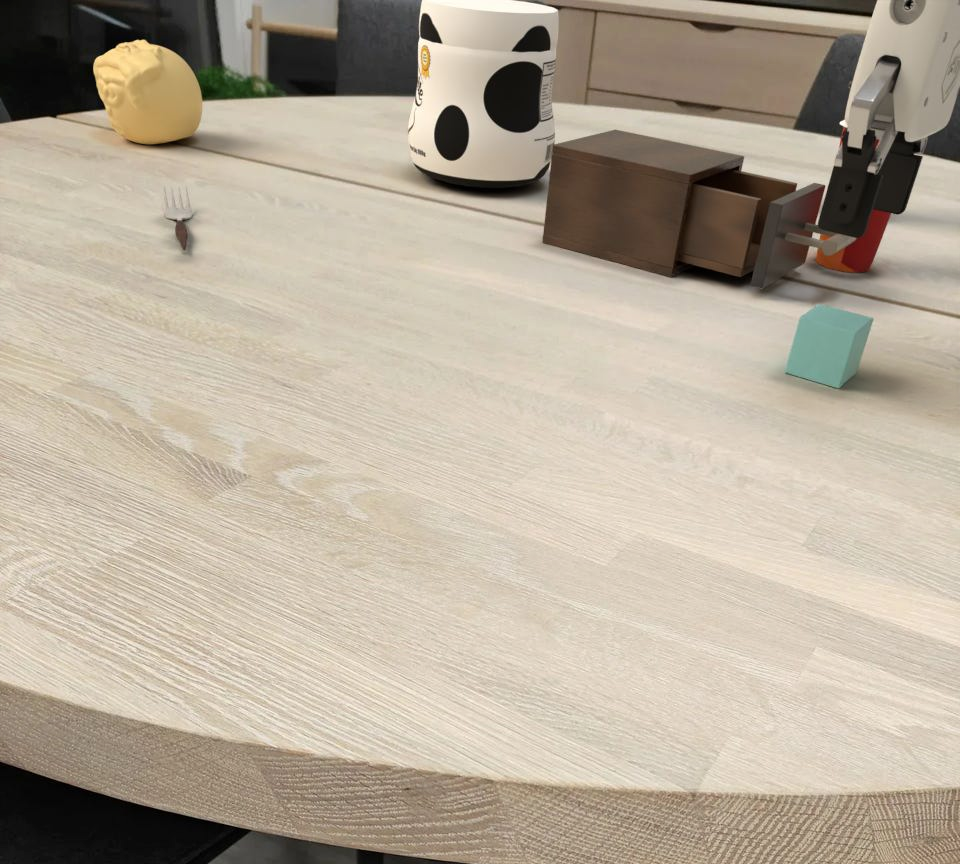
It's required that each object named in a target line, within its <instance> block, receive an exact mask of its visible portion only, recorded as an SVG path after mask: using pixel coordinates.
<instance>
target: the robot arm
mask: <svg viewBox="0 0 960 864" xmlns="http://www.w3.org/2000/svg"><path fill="white" fill-rule="evenodd" d="M857 61H858V62H857V65H856V68H855V70H854V71H855V72H854V74H853V79H852V81H853V82H852V86H851V90H850V89H849V91H850V94H849V93H848V97H849V98H847V102H848V103H847V102H846V107H845V113H844V114H845V115H844V119H845V122H846V124H847V126H848V127H847V129H846V130H844V131H843V133H842V132H841V135H842V136H843V137H842V138H841V137H840V140H841V141H842V144H841V146H840V145H839V146H840V148H839V147H838V150H837V152H836V155H835V158H834V164H833V166H832V171H831V174H830V178H829V181H828V185H827V189H826V191H825V192H826V193H825V195H824V198H823V203H822V206H821V210H820V213H819V217H818V221H817V225H818V227H819V228H820V229H821V230H825V231H829V232H833V233H837V234H841V235H846V236H850V237H854V238H860V237H862V236H863V235H864V234H865V233H866V230H867V227H868V224H869V220H870V217H871V214H872V211H873V209H875V210H879V211H883V212H888V213H891V215H897V216H899V215H901V214H904V213H905V211H906V209H907V207H908V203H909V200H910V198H911V194H912V191H913V188H914V185H915V182H916V179H917V176H918V173H919V170H920V167H921V164H922V160H923V158H924V157H923V156H924V155H923V154H924V151H925V149H926V146H927V143H928V138H929V136H931V135H933V134H936V133H938V132H940V131H941V130H943V129H945V128H946V126H947V125H948V124H949V122H950V119H951V117H952V114H953V110H954V107H955V104H956V100H957V98H958V94H959V90H960V0H876V3H875V6H874V9H873V13H872V16H871V19H870V22H869V24H868V28H867V32H866V34H865V39H864V41H863V44H862V47H861V51H860V55H859V57H858V60H857ZM876 139H878V140H880V141H879V143H878V145H877V147H876V149H875V142H876Z"/></svg>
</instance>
